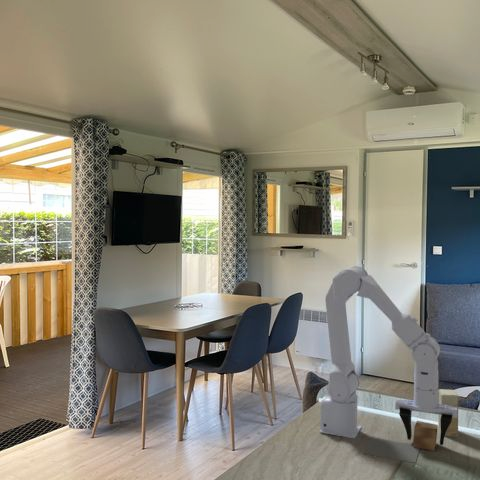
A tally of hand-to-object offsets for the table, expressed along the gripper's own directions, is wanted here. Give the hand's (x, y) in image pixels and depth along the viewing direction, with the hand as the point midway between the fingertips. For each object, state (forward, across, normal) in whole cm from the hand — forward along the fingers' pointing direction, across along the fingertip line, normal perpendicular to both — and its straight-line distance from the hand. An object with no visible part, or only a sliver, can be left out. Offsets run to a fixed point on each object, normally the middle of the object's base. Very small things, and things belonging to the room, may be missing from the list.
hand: (425, 440), depth 136 cm
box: (+2, -4, -11) cm, 12 cm away
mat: (+1, +7, +6) cm, 9 cm away
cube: (+1, 0, 0) cm, 1 cm away
